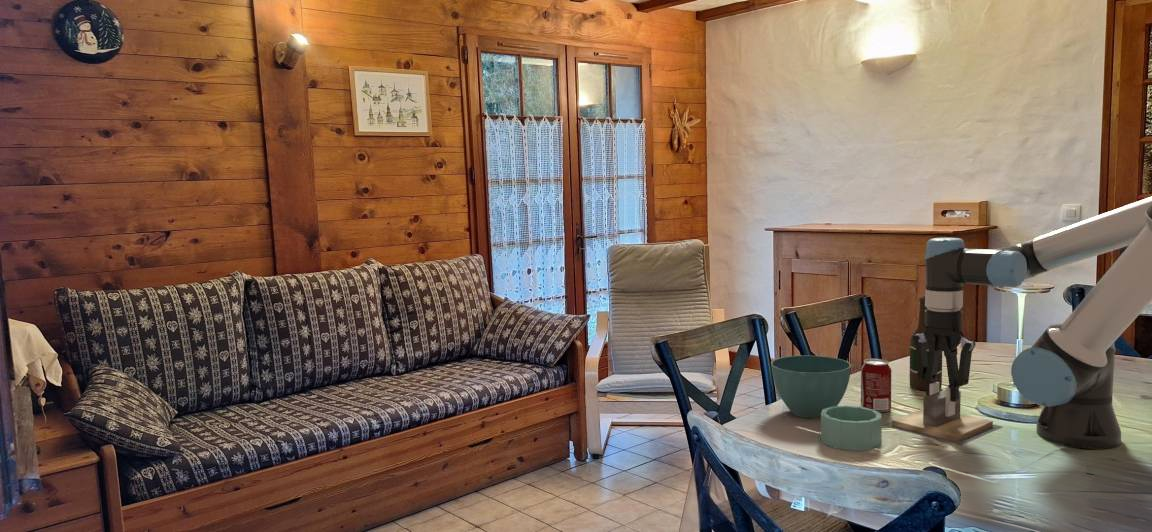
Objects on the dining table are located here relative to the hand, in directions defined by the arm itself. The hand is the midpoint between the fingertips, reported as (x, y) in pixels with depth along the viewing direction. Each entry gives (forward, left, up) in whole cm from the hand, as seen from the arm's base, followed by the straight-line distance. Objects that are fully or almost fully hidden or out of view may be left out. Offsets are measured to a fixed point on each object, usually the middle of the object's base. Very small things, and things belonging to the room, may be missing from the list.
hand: (942, 413), depth 178 cm
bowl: (+8, +22, -3) cm, 24 cm away
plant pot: (+26, +12, -4) cm, 29 cm away
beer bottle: (+20, -28, -4) cm, 35 cm away
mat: (0, 0, -3) cm, 3 cm away
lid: (0, 0, -3) cm, 3 cm away
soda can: (+17, -1, -4) cm, 17 cm away
